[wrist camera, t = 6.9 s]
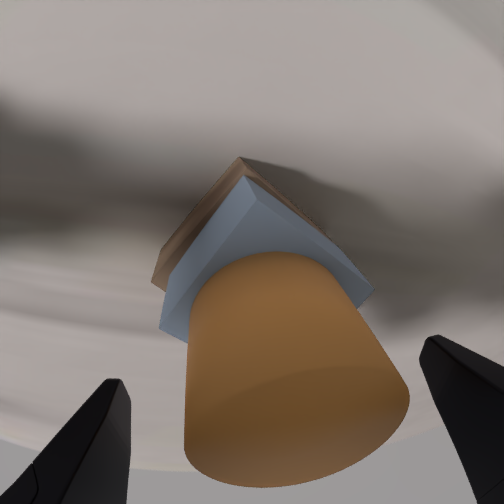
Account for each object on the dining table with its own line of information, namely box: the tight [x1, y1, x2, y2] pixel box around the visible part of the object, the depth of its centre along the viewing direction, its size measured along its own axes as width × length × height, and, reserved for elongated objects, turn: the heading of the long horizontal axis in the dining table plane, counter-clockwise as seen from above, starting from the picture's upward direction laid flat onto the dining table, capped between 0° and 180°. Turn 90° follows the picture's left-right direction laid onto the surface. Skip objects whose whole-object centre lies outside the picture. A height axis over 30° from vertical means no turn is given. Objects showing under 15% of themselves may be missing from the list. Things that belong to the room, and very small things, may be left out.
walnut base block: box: [151, 157, 332, 292], centre depth 15 cm, size 6×6×4 cm
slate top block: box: [159, 175, 375, 343], centre depth 11 cm, size 5×5×4 cm
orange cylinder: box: [184, 251, 410, 488], centre depth 8 cm, size 5×5×4 cm
